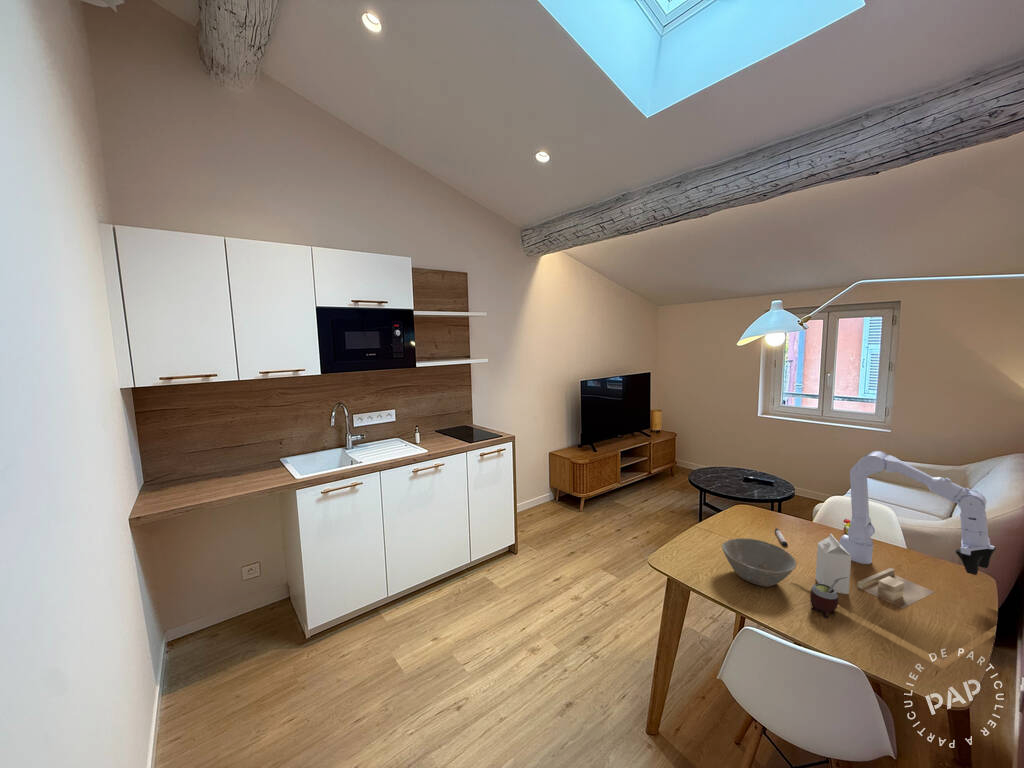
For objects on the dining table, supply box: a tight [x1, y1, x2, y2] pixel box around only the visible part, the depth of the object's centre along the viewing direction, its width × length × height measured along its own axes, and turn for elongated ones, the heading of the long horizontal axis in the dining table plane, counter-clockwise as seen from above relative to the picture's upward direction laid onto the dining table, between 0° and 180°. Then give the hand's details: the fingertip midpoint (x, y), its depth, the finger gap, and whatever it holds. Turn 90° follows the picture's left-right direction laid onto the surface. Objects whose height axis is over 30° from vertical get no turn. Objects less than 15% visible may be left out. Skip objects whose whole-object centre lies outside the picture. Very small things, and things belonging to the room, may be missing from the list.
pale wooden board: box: [856, 567, 935, 610], centre depth 135 cm, size 12×20×4 cm, turn 112°
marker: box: [774, 527, 789, 548], centre depth 174 cm, size 15×2×2 cm, turn 159°
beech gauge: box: [878, 576, 904, 602], centre depth 132 cm, size 4×6×5 cm, turn 112°
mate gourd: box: [809, 577, 847, 619], centre depth 126 cm, size 8×8×15 cm
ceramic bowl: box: [721, 537, 797, 588], centre depth 145 cm, size 22×23×10 cm
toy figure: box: [842, 518, 851, 535], centre depth 172 cm, size 18×6×7 cm, turn 152°
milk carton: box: [815, 533, 852, 595], centre depth 137 cm, size 7×7×19 cm
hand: (977, 570), depth 130 cm, fingers open, 7 cm apart
